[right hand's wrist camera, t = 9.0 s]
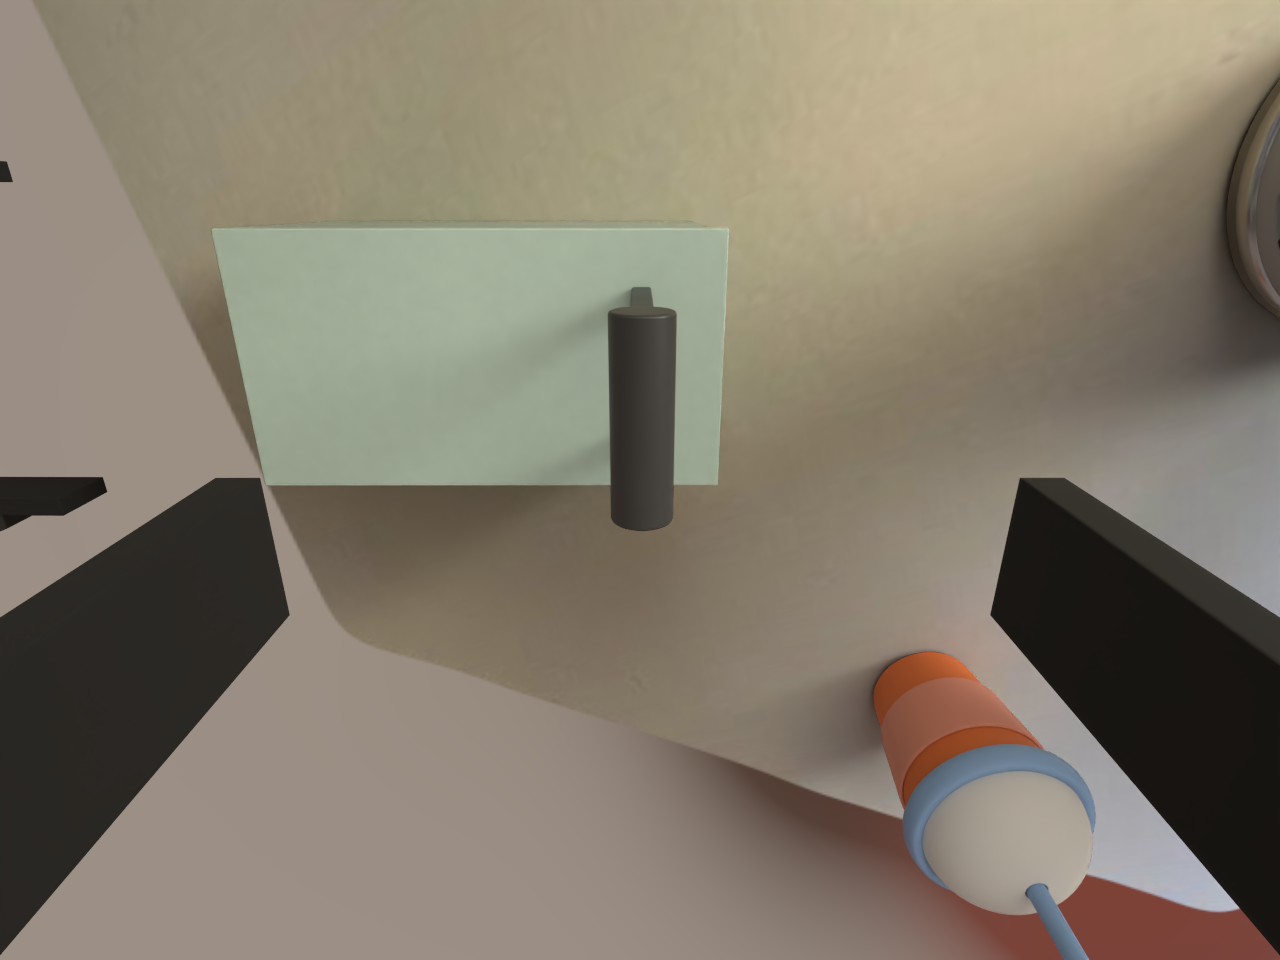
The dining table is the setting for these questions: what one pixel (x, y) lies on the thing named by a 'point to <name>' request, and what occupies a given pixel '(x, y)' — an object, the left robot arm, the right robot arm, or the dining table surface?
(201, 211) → the dining table surface
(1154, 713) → the right robot arm
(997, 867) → the cup with straw
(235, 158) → the dining table surface
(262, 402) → the lid
